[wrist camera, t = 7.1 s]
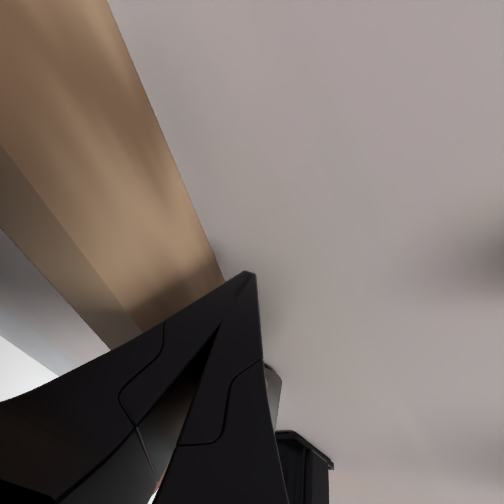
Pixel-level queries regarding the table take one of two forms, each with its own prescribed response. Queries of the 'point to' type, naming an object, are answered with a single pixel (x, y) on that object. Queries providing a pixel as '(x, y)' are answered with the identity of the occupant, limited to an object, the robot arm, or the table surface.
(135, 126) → the brown long flat bar
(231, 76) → the table surface
